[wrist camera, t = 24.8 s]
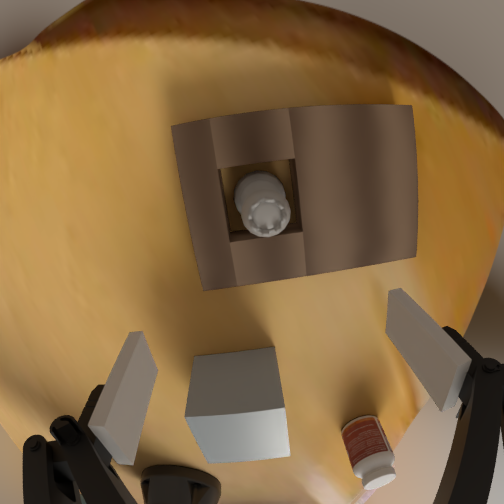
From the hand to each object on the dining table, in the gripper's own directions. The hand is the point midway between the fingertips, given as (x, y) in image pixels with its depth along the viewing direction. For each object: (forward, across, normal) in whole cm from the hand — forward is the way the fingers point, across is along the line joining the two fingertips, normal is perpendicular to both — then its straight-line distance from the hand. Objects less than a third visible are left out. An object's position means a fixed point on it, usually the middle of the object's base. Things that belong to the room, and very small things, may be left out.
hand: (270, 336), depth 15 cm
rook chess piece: (+14, +1, +5) cm, 15 cm away
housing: (+14, -4, -16) cm, 22 cm away
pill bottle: (+15, +12, -31) cm, 37 cm away
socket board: (+14, +5, +5) cm, 16 cm away
